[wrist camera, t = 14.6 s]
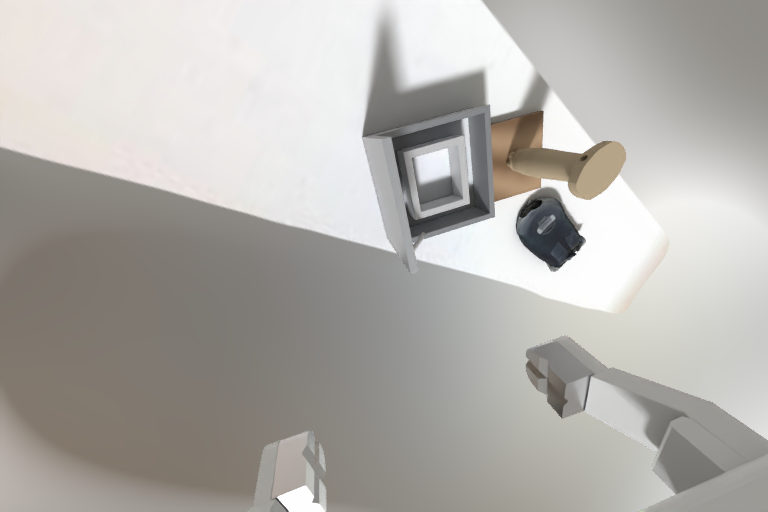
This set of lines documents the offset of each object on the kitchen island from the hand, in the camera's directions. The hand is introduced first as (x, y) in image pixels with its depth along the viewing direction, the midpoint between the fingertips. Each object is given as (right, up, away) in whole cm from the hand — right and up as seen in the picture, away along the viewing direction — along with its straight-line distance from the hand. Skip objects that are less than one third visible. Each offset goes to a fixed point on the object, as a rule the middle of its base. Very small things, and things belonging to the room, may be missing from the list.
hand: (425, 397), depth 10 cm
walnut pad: (+19, +21, +35) cm, 45 cm away
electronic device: (+29, +10, +43) cm, 53 cm away
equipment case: (+6, +18, +33) cm, 38 cm away
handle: (+19, +21, +34) cm, 44 cm away
